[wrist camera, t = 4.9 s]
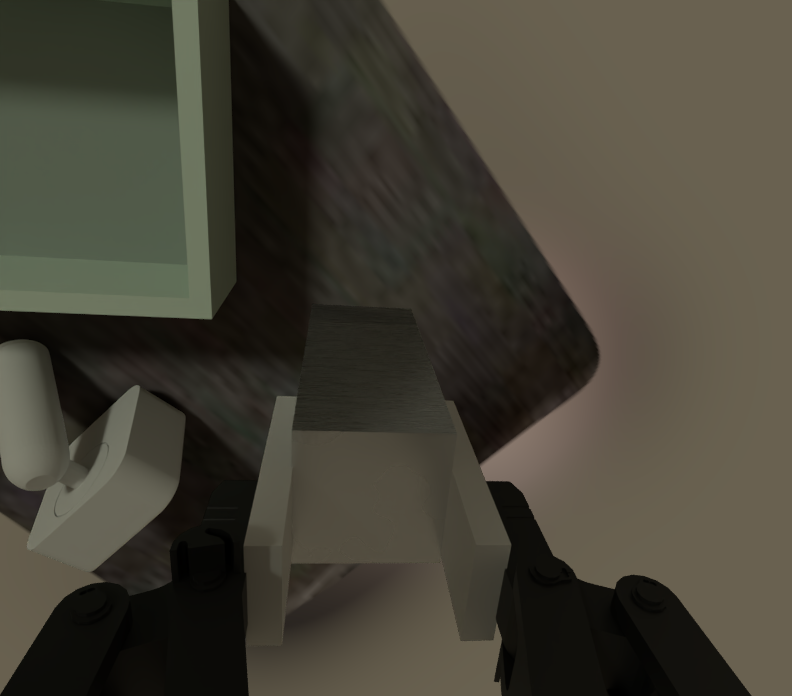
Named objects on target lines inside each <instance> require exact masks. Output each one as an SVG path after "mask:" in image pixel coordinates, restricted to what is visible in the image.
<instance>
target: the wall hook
mask: <svg viewBox="0 0 792 696" xmlns="http://www.w3.org/2000/svg"><path fill="white" fill-rule="evenodd" d="M185 421H186V416H185V414H184V413H182V412H181V411H179V410H178V409H176V408H174V407H173V406H171V405H169V404H168V403H166V402H165V401H163V400H161V399H160V398H158V397H156V396H155V395H153V394H152V393H150V392H148V391H147V390H145V389H143V388H142V387H140V386H138V385H136V386H134V387H132V388H131V389H129V390H128V391H127V392H126V393H125V394H124V395H123V396H122V397H121V398H119V399H118V400H117V401H116V402H115V403H114V404H113V405H112V406H111V407H110V408H109V409H108V410H107V411H106V412H105V413H103V414H102V415H101V416H100V417H99V418H98V419H97V420H96V421H95V422H94V423H93V424H92V425H91V426H90V427H89V428H88V429H86V430H85V431H84V432H83V433H82V434H81V435H80V436H79V437H78V438H77V439H76V440H75V441H74V442H73V443H72V444H71V445H70V446H68V440H67V435H66V430H65V426H64V421H63V416H62V411H61V406H60V402H59V397H58V392H57V387H56V382H55V377H54V373H53V368H52V363H51V358H50V353H49V350H48V349H47V348H46V347H45V346H44V345H43V344H41V343H39V342H36V341H33V340H26V339H19V340H12V341H8V342H5V343H2V344H0V454H1V461H2V467H3V471H4V473H5V475H6V477H7V478H8V479H9V480H10V481H11V482H12V483H13V484H14V485H16V486H17V487H19V488H22V489H24V490H29V491H39V490H44V489H47V490H46V492H45V495H44V498H43V501H42V503H41V506H40V509H39V512H38V514H37V517H36V520H35V523H34V525H33V528H32V531H31V534H30V537H29V539H28V543H27V549H28V550H31V551H33V552H36V553H39V554H42V555H44V556H46V557H49V558H52V559H54V560H57V561H60V562H62V563H65V564H67V565H70V566H73V567H75V568H78V569H80V570H83V571H86V572H91V571H93V570H95V569H96V568H97V567H98V566H100V565H101V564H102V563H103V562H104V561H105V560H107V559H108V558H109V557H110V556H111V555H112V554H114V553H115V552H116V551H117V550H118V549H119V548H121V547H122V546H123V545H124V544H125V543H126V542H127V541H129V540H130V539H131V538H132V537H133V536H134V535H136V534H137V533H138V532H139V531H140V530H141V529H142V528H144V527H145V526H146V525H147V524H148V523H149V522H151V521H152V520H153V519H154V518H155V517H156V516H157V515H159V514H160V513H161V512H162V511H163V510H164V509H165V508H166V506H167V505H168V504H169V502H170V501H171V499H172V498H173V496H174V494H175V492H176V490H177V487H178V484H179V480H180V471H181V462H182V452H183V441H184V431H185Z"/></svg>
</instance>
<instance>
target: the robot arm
mask: <svg viewBox="0 0 792 696" xmlns="http://www.w3.org/2000/svg"><path fill="white" fill-rule="evenodd" d="M296 400H297V397H289V396H277V399H276V403H275V408H274V412H273V416H272V421H271V425H270V430H269V434H268V439H267V443H266V448H265V452H264V457H263V461H262V465H261V470H260V474H259V479H258V481H254V480H224V481H223V482H222V483H221V484H220V485H219V486H218V487H217V488H216V489H215V490H214V491H213V492H212V494H211V497H210V500H209V503H208V506H207V509H206V512H205V515H204V519H203V521H202V524H201V526H197V527H193V528H191V529H189V530H187V531H186V532H184V533H182V534H181V535H180V536H179V537H178V538H177V539H176V540H175V541H174V542H173V544H172V546H171V549H170V560H171V571H172V581H171V582H170V583H168V584H166V585H164V586H162V587H160V588H157V589H154V590H151V591H147V592H144V593H140V594H136V595H132V596H129V595H128V592H127V590H126V589H125V588H123V587H122V586H120V585H119V584H114V583H108V582H103V583H94V584H90V585H87V586H85V587H82V588H79V589H77V590H75V591H74V592H72V593H71V594H69V595H68V596H66V597H65V598H64V599H63V600H62V601H61V602H60V603H59V604H58V605H57V607H56V608H55V609H54V610H53V612H52V614H51V615H50V617H49V618H48V620H47V622H46V623H45V625H44V626H43V628H42V630H41V631H40V633H39V634H38V636H37V637H36V639H35V641H34V642H33V644H32V645H31V647H30V648H29V650H28V652H27V653H26V655H25V656H24V659H23V660H22V661H21V663H20V664H19V666H18V667H17V669H16V671H15V672H14V674H13V675H12V677H11V679H10V680H9V682H8V683H7V685H6V686H5V688H4V690H3V691H2V693H1V694H0V696H249V693H248V678H247V663H246V647H245V637H246V646H275V645H282V640H283V631H284V621H285V612H286V603H287V594H288V585H289V576H290V566H291V557H292V484H293V467H291V439H292V425H293V419H294V413H295V406H296ZM445 402H446V405H447V408H448V411H449V413H450V416H451V419H452V421H453V424H454V427H455V430H456V432H457V439H456V447H455V454H454V462H453V469H452V472H451V480H450V487H449V495H448V502H447V510H446V518H445V525H444V533H443V540H442V548H441V558H442V563H443V567H444V571H445V575H446V580H447V584H448V588H449V592H450V597H451V601H452V606H453V610H454V614H455V619H456V623H457V627H458V632H459V636H460V640H461V641H481V640H493V638H494V633H495V628H496V623H497V624H498V627H499V630H500V634H501V637H502V643H501V648H500V653H499V658H498V663H497V668H496V673H495V679H494V681H495V682H499V680H500V679H501V692H502V696H751V695H750V693H749V692H748V691H747V689H746V688H745V687H744V686H743V684H742V683H741V681H740V680H739V679H738V677H737V676H736V675H735V673H734V672H733V671H732V669H731V668H730V667H729V665H728V664H727V663H726V661H725V660H724V659H723V657H722V656H721V655H720V654H719V652H718V651H717V649H716V648H715V647H714V646H713V644H712V643H711V641H710V640H709V639H708V637H707V636H706V635H705V634H704V632H703V631H702V630H701V628H700V627H699V625H698V624H697V623H696V622H695V620H694V619H693V618H692V616H691V615H690V614H689V612H688V611H687V610H686V608H685V607H684V606H683V604H682V603H681V602H680V600H679V599H678V598H677V596H676V595H675V594H674V593H673V592H672V591H670V589H669V588H667V587H666V586H664V585H663V584H661V583H659V582H658V581H656V580H653V579H650V578H648V577H645V576H638V575H630V576H625V577H622V578H621V579H620V580H619V581H618V582H617V584H616V587H615V589H611V588H607V587H603V586H599V585H594V584H591V583H587V582H584V581H581V580H579V579H577V578H576V575H575V573H574V572H573V570H572V569H571V568H570V567H569V566H568V565H567V564H566V563H565V562H564V561H562V560H560V559H558V558H556V557H554V556H553V554H552V552H551V550H550V548H549V546H548V544H547V542H546V541H545V538H544V536H543V534H542V532H541V530H540V528H539V526H538V524H537V522H536V520H534V516H533V514H532V511H531V509H529V505H528V503H527V501H526V499H525V497H524V495H523V493H522V492H521V491H519V489H517V488H516V487H515V486H514V485H513V484H512V483H511V482H507V481H506V482H502V481H500V482H499V481H485V478H484V476H483V473H482V471H481V468H480V466H479V463H478V461H477V458H476V456H475V453H474V451H473V448H472V446H471V443H470V441H469V438H468V436H467V433H466V431H465V429H464V426H463V424H462V421H461V419H460V416H459V414H458V411H457V409H456V406H455V404H454V401H445Z"/></svg>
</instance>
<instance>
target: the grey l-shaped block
mask: <svg viewBox="0 0 792 696" xmlns="http://www.w3.org/2000/svg"><path fill="white" fill-rule="evenodd" d="M456 439H457V432H456V430H455V427H454V424H453V421H452V419H451V416H450V413H449V411H448V408H447V405H446V402H445V400H444V397H443V394H442V392H441V389H440V386H439V383H438V381H437V378H436V375H435V373H434V370H433V367H432V364H431V362H430V359H429V356H428V354H427V351H426V348H425V346H424V343H423V340H422V337H421V335H420V332H419V329H418V327H417V324H416V321H415V318H414V316H413V313H412V310H411V309H406V308H385V307H364V306H343V305H322V304H312V308H311V315H310V321H309V327H308V333H307V339H306V345H305V351H304V357H303V364H302V370H301V376H300V382H299V388H298V394H297V400H296V406H295V413H294V419H293V425H292V439H291V467H293V484H292V557H291V563H440V558H441V548H442V540H443V533H444V525H445V518H446V510H447V502H448V495H449V487H450V480H451V472H452V469H453V462H454V454H455V447H456Z"/></svg>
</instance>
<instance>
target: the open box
mask: <svg viewBox="0 0 792 696" xmlns="http://www.w3.org/2000/svg"><path fill="white" fill-rule="evenodd" d="M236 282H237V279H236V243H235V207H234V171H233V136H232V100H231V64H230V28H229V0H0V310H1V311H26V312H50V313H74V314H98V315H122V316H146V317H170V318H194V319H212V318H213V317H214V315H215V314H216V312H217V311H218V309H219V308H220V306H221V305H222V303H223V302H224V300H225V299H226V297H227V296H228V294H229V292H230V291H231V289H232V288H233V286H234V285H235V283H236Z"/></svg>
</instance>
